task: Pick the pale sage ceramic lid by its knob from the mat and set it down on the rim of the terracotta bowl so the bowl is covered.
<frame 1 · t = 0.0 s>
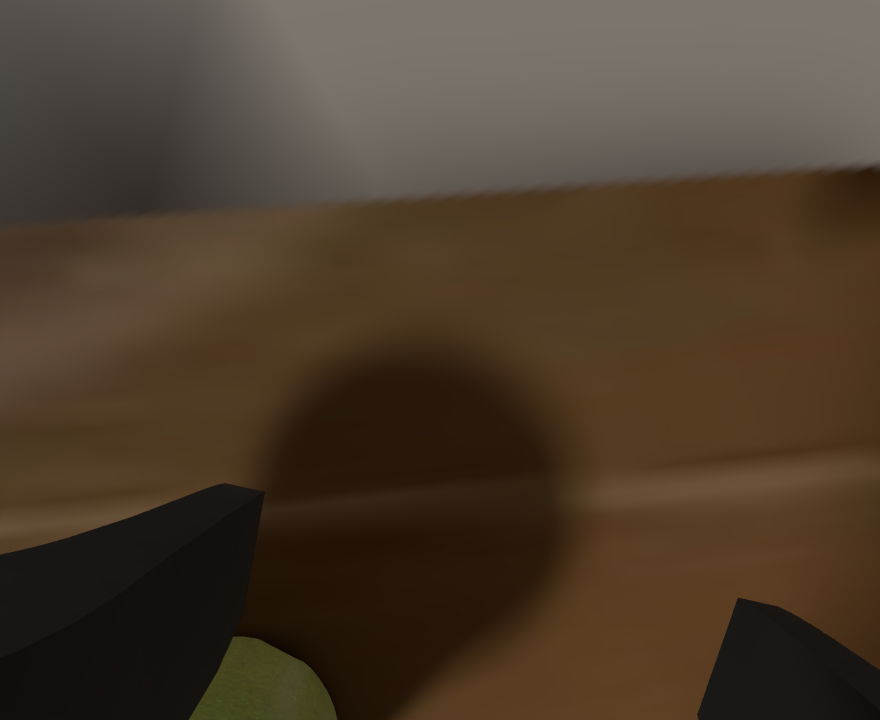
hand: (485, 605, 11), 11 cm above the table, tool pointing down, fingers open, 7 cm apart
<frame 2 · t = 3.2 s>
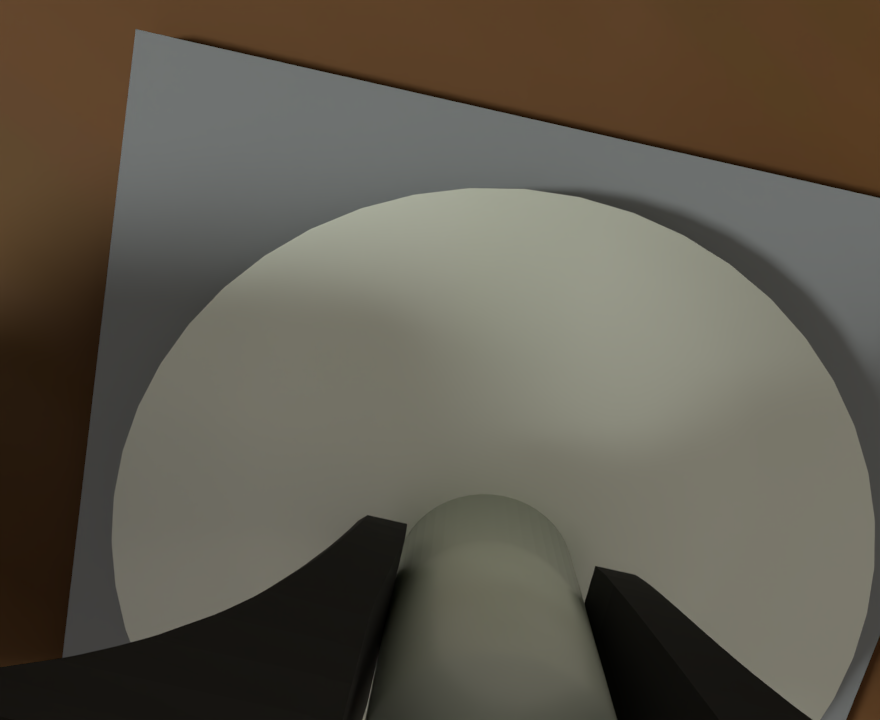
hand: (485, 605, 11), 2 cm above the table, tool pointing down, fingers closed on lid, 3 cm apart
lid: (483, 547, 12), point 1 cm above the table, touching gripper, mat
mat: (483, 532, 13), on the table
when the fingers open (7 cm above the table, at t = 6.1 s): lid stays where it is, resting on bowl.
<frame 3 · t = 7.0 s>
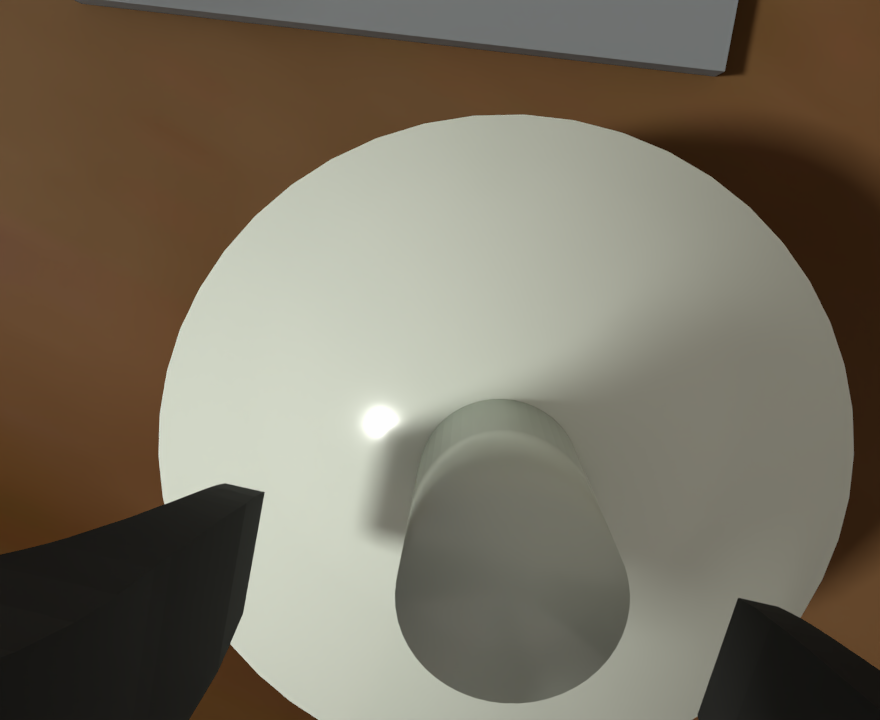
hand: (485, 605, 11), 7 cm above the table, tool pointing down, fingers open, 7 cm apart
lid: (496, 456, 13), point 4 cm above the table, touching bowl
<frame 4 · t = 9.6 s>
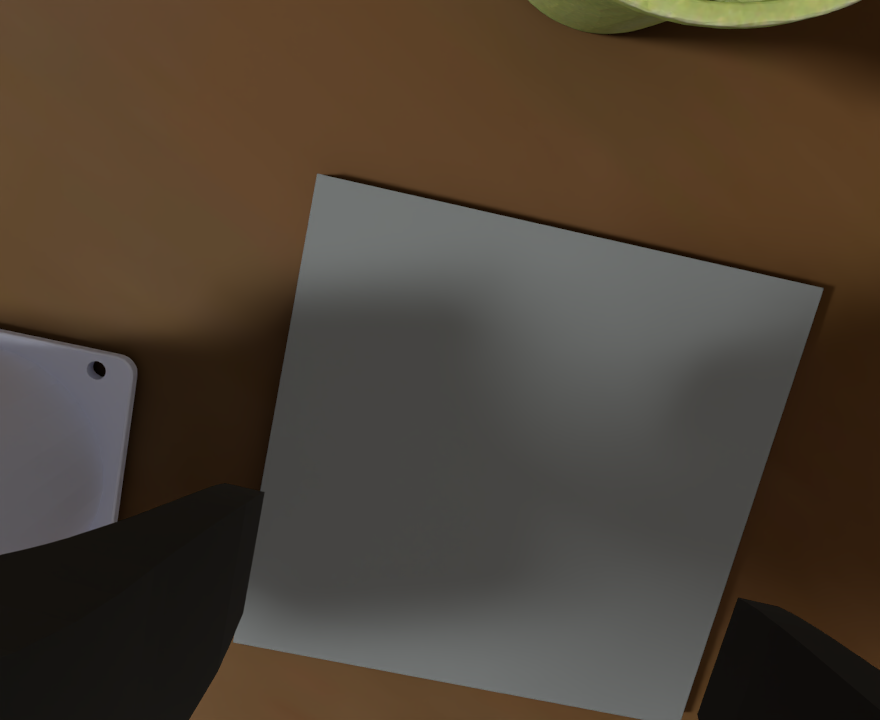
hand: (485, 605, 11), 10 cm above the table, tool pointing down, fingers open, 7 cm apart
mat: (511, 466, 21), on the table
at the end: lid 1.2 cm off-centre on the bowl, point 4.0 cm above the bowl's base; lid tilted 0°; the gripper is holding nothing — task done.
